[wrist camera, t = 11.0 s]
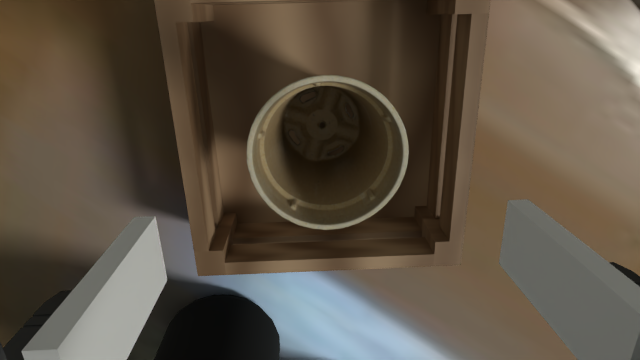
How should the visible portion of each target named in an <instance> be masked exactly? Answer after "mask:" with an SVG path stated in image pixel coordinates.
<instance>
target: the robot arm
mask: <svg viewBox="0 0 640 360" xmlns="http://www.w3.org/2000/svg"><path fill="white" fill-rule="evenodd" d="M499 264H500V265H501V267H502V268H503V269H504V270H505V272H506V273H507V274H508V275H509V276H510V278H511V279H512V280H513V281H514V283H515V284H516V285H517V286H518V287H519V289H520V290H521V291H522V292H523V293H524V295H525V296H526V297H527V298H528V300H529V301H530V302H531V303H532V304H533V306H534V307H535V308H536V309H537V310H538V312H539V313H540V314H541V315H542V317H543V318H544V319H545V320H546V321H547V323H548V324H549V325H550V326H551V328H552V329H553V330H554V331H555V332H556V334H557V335H558V336H559V337H560V338H561V340H562V341H563V342H564V343H565V345H566V346H567V347H568V348H569V349H570V351H571V352H572V353H573V354H574V356H575V357H576V358H577V359H578V360H640V276H638V275H637V274H636V273H634V272H633V271H631V270H629V269H627V268H625V267H623V266H620V265H618V264H616V263H614V262H610V263H609V262H607V261H606V260H605V259H604V258H602V257H601V256H600V255H598V254H597V253H596V252H595V251H593V250H592V249H591V248H589V247H588V246H587V245H586V244H584V243H583V242H582V241H581V240H579V239H578V238H577V237H575V236H574V235H573V234H572V233H570V232H569V231H568V230H566V229H565V228H564V227H563V226H561V225H560V224H559V223H557V222H556V221H555V220H554V219H552V218H551V217H550V216H549V215H547V214H546V213H545V212H543V211H542V210H541V209H540V208H538V207H537V206H536V205H534V204H533V203H532V202H531V201H529V200H508V205H507V212H506V218H505V225H504V232H503V239H502V246H501V253H500V260H499ZM166 282H167V275H166V270H165V265H164V259H163V254H162V249H161V243H160V238H159V233H158V227H157V222H156V216H149V217H134V218H133V219H132V220H131V222H130V223H129V224H128V225H127V226H126V228H125V229H124V230H123V231H122V232H121V233H120V235H119V236H118V237H117V238H116V239H115V241H114V242H113V243H112V244H111V245H110V247H109V248H108V249H107V250H106V251H105V252H104V254H103V255H102V256H101V257H100V258H99V260H98V261H97V262H96V263H95V264H94V265H93V267H92V268H91V269H90V270H89V271H88V273H87V274H86V275H85V276H84V277H83V279H82V280H81V281H80V282H79V283H78V284H77V286H76V287H75V288H74V289H73V290H72V291H61V292H59V293H58V294H56V295H55V296H53V297H52V298H50V299H49V300H47V301H46V302H44V304H43V305H42V306H41V307H40V308H39V309H38V310H37V311H36V312H35V313H34V315H33V318H30V319H29V320H28V321H27V322H26V323H25V324H24V327H23V328H21V329H20V330H19V331H18V332H17V333H16V334H15V336H14V337H13V338H12V339H11V340H10V341H9V342H8V343H7V344H6V345H5V347H4V348H2V345H1V343H0V360H127V358H128V356H129V354H130V352H131V350H132V348H133V346H134V344H135V342H136V341H137V339H138V337H139V335H140V333H141V331H142V329H143V327H144V325H145V323H146V321H147V319H148V317H149V315H150V313H151V311H152V309H153V307H154V305H155V303H156V301H157V299H158V297H159V295H160V294H161V292H162V290H163V288H164V286H165V284H166Z"/></svg>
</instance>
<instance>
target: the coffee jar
mask: <svg viewBox="0 0 640 360" xmlns="http://www.w3.org/2000/svg"><path fill="white" fill-rule="evenodd" d="M279 353H280V342H279V334H278V332H277V330H276V327H275V325H274V323H273V321H272V319H271V318H270V317H269V316H268V315H267V314H266V313H265V312H264V311H263V310H262V309H261V308H260V307H259V306H258V305H256V304H254V303H252V302H250V301H249V300H247V299H245V298H241V297H237V296H233V295H213V296H209V297H206V298H202V299H199V300H196V301H194V302H193V303H191V304H189V305H188V306H186V307H185V308H183V309H182V310H180V311H179V312H178V313H177V315H176V316H175V317H174V319H173V320H172V321H171V323H170V324H169V327H168V329H167V331H166V333H165V336H164V338H163V340H162V342H161V345H160V347H159V349H158V352H157V354H156V356H155V358H154V360H279Z"/></svg>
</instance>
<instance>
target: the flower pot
mask: <svg viewBox="0 0 640 360" xmlns="http://www.w3.org/2000/svg"><path fill="white" fill-rule="evenodd" d="M311 92H315V95H316V96H315V97H314V98H311V99H309V100H307V101H305V102H304V103H303V102H302V101H301V100H300V98H301V96H302V95H305V94H307V93H311ZM347 104H349V106H350V108H351V110H352V112H353V117H352V118H351V117H350V115H349V113H348V112H346V111H347V108H346V105H347ZM320 123H324V124H325V126H324V128H321V127H320V126H319V125H320ZM290 130H291V131H294V132H295V135H296V137H297V139H298V140H299V142H300V143H299V144H298V145H297V144H296V143H295V142H294V141H293V139H292V138H291V136H290V135H289V131H290ZM341 146H342V147H343V148H344V149H343V150H342V151H341V152H340V153H338V154H336V155H329V152H332V151H334V150H336V149H338V148H339V147H341ZM408 154H409V150H408V139H407V134H406V130H405V127H404V125H403V122H402V120H401V118H400V116H399V114H398V112H397V111H396V110H395V108H394V106H393V105H392V104H391V103H390V102H389V100H388V99H387V98H386V97H385V96H384V95H382V94H381V93H380V92H379V91H377V90H376V89H374V88H373V87H371V86H369V85H368V84H366V83H364V82H362V81H359V80H356V79H353V78H350V77H345V76H339V75H320V76H312V77H308V78H304V79H301V80H298V81H296V82H294V83H291V84H289V85H288V86H286V87H284V88H282V89H281V90H280V91H278V92H277V93H276V94H275V95H273V96H272V97H271V98H270V99H269V100H268V101H267V102H266V103H265V105H264V106H263V107H262V108H261V110H260V111H259V113H258V114H257V116H256V118H255V120H254V122H253V124H252V126H251V129H250V133H249V137H248V141H247V165H248V170H249V173H250V176H251V180H252V182H253V184H254V186H255V188H256V190H257V192H258V193H259V195H260V196H261V197H262V199H263V200H264V201H265V203H266V204H267V205H268V206H269V207H270V208H271V209H272V210H274V211H275V212H276V213H277V214H279V215H280V216H281V217H283V218H285V219H287V220H289V221H291V222H293V223H295V224H297V225H300V226H303V227H308V228H312V229H322V230H330V229H340V228H345V227H348V226H351V225H354V224H358V223H360V222H361V221H363V220H365V219H367V218H369V217H371V216H372V215H374V214H375V213H377V212H378V211H379V210H380V209H381V208H383V207H384V206H385V205H386V204H387V203H388V201H389V200H390V199H391V198H392V197H393V195H394V194H395V192H396V191H397V190H398V188H399V186H400V184H401V182H402V180H403V177H404V175H405V171H406V168H407V164H408Z"/></svg>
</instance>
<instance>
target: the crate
mask: <svg viewBox="0 0 640 360" xmlns="http://www.w3.org/2000/svg"><path fill="white" fill-rule="evenodd" d="M490 1H491V0H154V2H155V9H156V15H157V21H158V28H159V34H160V40H161V46H162V53H163V59H164V65H165V72H166V78H167V84H168V90H169V97H170V103H171V109H172V116H173V122H174V128H175V134H176V141H177V147H178V153H179V159H180V166H181V172H182V178H183V185H184V191H185V197H186V203H187V210H188V216H189V222H190V229H191V235H192V241H193V247H194V254H195V260H196V266H197V272H198V276H209V275H233V274H257V273H282V272H306V271H330V270H355V269H379V268H403V267H428V266H452V265H461V259H462V250H463V241H464V232H465V223H466V214H467V205H468V196H469V188H470V179H471V170H472V161H473V152H474V143H475V134H476V125H477V117H478V108H479V99H480V90H481V81H482V72H483V63H484V54H485V46H486V37H487V28H488V19H489V10H490ZM320 75H339V76H345V77H350V78H353V79H356V80H359V81H362V82H364V83H366V84H368V85H369V86H371V87H373V88H374V89H376V90H377V91H379V92H380V93H381V94H382V95H384V96H385V97H386V98H387V99H388V100H389V102H390V103H391V104H392V105H393V106H394V108H395V110H396V111H397V112H398V114H399V116H400V118H401V120H402V122H403V125H404V127H405V130H406V134H407V139H408V150H409V154H408V164H407V168H406V171H405V175H404V177H403V180H402V182H401V184H400V186H399V188H398V190H397V191H396V192H395V194H394V195H393V197H392V198H391V199H390V200H389V201H388V203H387V204H386V205H385V206H384V207H383V208H381V209H380V210H379V211H378V212H377V213H375V214H374V215H372V216H371V217H369V218H367V219H365V220H363V221H361V222H360V223H358V224H354V225H351V226H348V227H345V228H340V229H330V230H322V229H312V228H308V227H303V226H300V225H297V224H295V223H293V222H291V221H289V220H287V219H285V218H283V217H281V216H280V215H279V214H277V213H276V212H275V211H274V210H272V209H271V208H270V207H269V206H268V205H267V204H266V203H265V201H264V200H263V199H262V197H261V196H260V195H259V193H258V192H257V190H256V188H255V186H254V184H253V182H252V180H251V176H250V173H249V170H248V165H247V141H248V137H249V133H250V129H251V126H252V124H253V122H254V120H255V118H256V116H257V114H258V113H259V111H260V110H261V108H262V107H263V106H264V105H265V103H266V102H267V101H268V100H269V99H270V98H271V97H272V96H273V95H275V94H276V93H277V92H278V91H280V90H281V89H282V88H284V87H286V86H288V85H289V84H291V83H294V82H296V81H298V80H301V79H304V78H308V77H312V76H320ZM315 96H316V95H315V92H311V93H307V94H305V95H302V96H301V98H300V100H301V101H302V102H303V103H304V102H305V101H307V100H309V99H311V98H314V97H315ZM346 108H347V111H346V112H348V113H349V115H350V117H351V118H352V117H353V112H352V110H351V108H350V106H349V104H347V105H346ZM319 126H320V127H321V128H324V126H325V124H324V123H320V125H319ZM289 135H290V136H291V138H292V139H293V141H294V142H295V143H296V144H297V145H298V144H299V143H300V142H299V140H298V139H297V137H296V135H295V132H294V131H291V130H290V131H289ZM343 149H344V148H343V147H342V146H341V147H339V148H338V149H336V150H334V151H332V152H329V155H336V154H338V153H340V152H341V151H342V150H343Z"/></svg>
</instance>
